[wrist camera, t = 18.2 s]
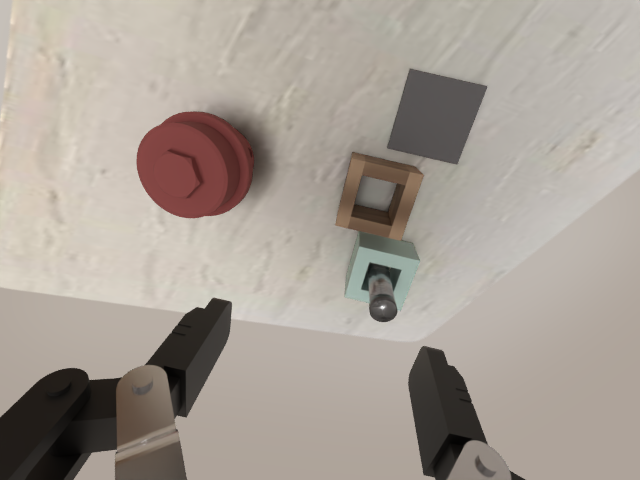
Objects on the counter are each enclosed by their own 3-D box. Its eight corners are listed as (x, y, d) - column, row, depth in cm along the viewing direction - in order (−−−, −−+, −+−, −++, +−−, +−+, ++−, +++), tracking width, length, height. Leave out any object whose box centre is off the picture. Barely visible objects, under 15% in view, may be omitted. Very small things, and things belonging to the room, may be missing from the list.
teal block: (359, 230, 39) (359, 246, 34) (412, 243, 39) (420, 261, 34) (345, 276, 42) (344, 297, 37) (396, 288, 42) (400, 310, 37)
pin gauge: (369, 249, 40) (373, 296, 30) (390, 254, 40) (400, 303, 30) (364, 267, 41) (366, 318, 31) (384, 271, 41) (392, 324, 31)
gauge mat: (410, 69, 31) (410, 68, 31) (486, 86, 31) (487, 86, 31) (387, 147, 35) (387, 148, 34) (456, 163, 35) (457, 164, 34)
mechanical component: (226, 91, 34) (287, 159, 37) (174, 152, 38) (234, 211, 40) (161, 82, 23) (256, 182, 25) (96, 170, 26) (185, 251, 29)
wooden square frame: (352, 152, 35) (351, 158, 31) (415, 166, 35) (423, 175, 31) (337, 211, 38) (335, 225, 34) (395, 225, 38) (400, 240, 34)
